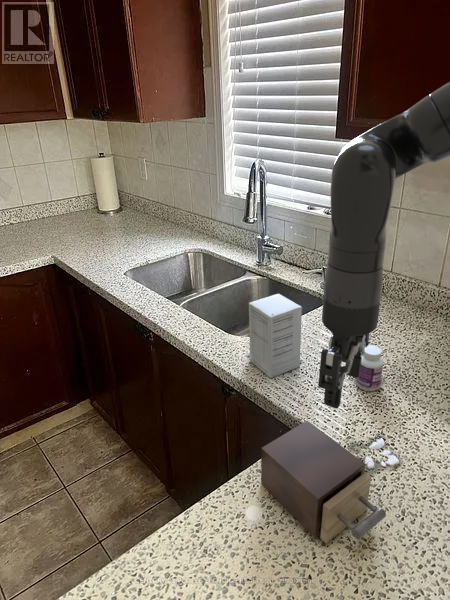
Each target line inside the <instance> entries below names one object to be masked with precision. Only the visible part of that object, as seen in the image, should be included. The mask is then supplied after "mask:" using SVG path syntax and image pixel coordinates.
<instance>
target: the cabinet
mask: <svg viewBox="0 0 450 600" xmlns="http://www.w3.org/2000/svg"><path fill="white" fill-rule="evenodd" d="M260 451H261V452H260V464H261V465H260V485H261V486H262V487H263V488H264V490H266V491H267V492H268V493H269V494H270V495H271V496H272V497H273V498H274V499H275V500H276V501H277V502H278V503H279V504H280V505H281V506H282V507H283V508H284V509H285V510H286V511H287V512H288V513H289V514H290V515H291V516H292V517H293V518H294V519H295V520H296V521H297V522H298V523H299V524H300V525H301V526H302V527H303V528H304V529H305V530H306V531H307V532H308V533H309V534H310V535H311V536H312V537H313V538H317V537H318V536H320V528H321V525H320V515H321V504H322V500H323V499H324V498H326V497H327V496H328V495H330V494H331V493H332V492H334V491H335V490H336V489H338V488H339V487H340V486H342V485H343V484H344V483H346V482H347V481H348V480H350V479H351V478H352V477H354V479H353V481H355V480H356V479H357V478H359V477H360V476H361V475H363V474H364V473H365V471H366V466H367V464H365V461H362V460H361V459H360V458H358V457H357V456H356V455H354V454H353V453H352V452H350V451H349V450H348V449H346V448H345V447H344V446H343V445H341V444H340V443H338V442H337V441H335V440H334V439H333V438H332V437H330V436H329V435H328V434H326V433H325V432H324V431H322V430H321V429H320V428H319V427H317V426H315V425H314V424H313V423H312V422H310V421H309V420H305V421H304V422H302V423H300V424H298V425H297V426H296V427H294V428H292V429H291V430H289V431H287V432H286V433H284V434H282V435H281V436H279V437H277V438H276V439H274V440H272V441H271V442H269V443H267V444H266V445H263V446H262V447H261V448H260Z"/></svg>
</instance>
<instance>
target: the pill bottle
mask: <svg viewBox="0 0 450 600" xmlns="http://www.w3.org/2000/svg"><path fill="white" fill-rule="evenodd" d="M382 354H383V351H382V349H381V348H380V347H379V346H376V345H368V346H367V347H365V353H364V355H363V356H361V357H362V360H361V368H360V375H359V376H358V377H357V378H355V384H356V386H357V388H359V389H360V390H363V391H364V392H374V391H375V392H376V391H377V390H379V389H380V387H381V383H382V375H383V368H384V359H383V357H382Z"/></svg>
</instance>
